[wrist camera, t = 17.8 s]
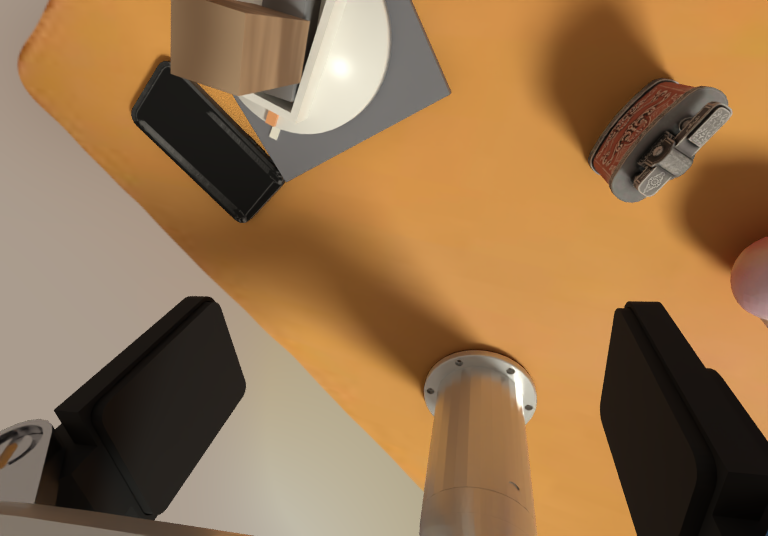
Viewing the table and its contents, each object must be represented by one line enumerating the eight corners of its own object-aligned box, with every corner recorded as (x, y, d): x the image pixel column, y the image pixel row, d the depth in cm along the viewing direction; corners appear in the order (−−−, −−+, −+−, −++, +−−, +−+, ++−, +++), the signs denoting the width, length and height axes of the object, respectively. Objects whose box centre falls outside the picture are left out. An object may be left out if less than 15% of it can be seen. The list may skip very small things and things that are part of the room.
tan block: (328, -1, 31) (248, -23, 20) (311, 99, 34) (236, 123, 24) (276, -17, 31) (171, -47, 20) (265, 84, 34) (170, 101, 24)
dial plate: (451, 92, 35) (450, 94, 34) (292, 177, 42) (285, 182, 40) (343, -157, 29) (335, -168, 28) (177, -12, 36) (164, -15, 34)
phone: (242, 227, 45) (127, 116, 41) (247, 223, 46) (135, 115, 42) (287, 178, 41) (164, 54, 38) (291, 175, 42) (172, 53, 39)
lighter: (610, 181, 36) (651, 225, 27) (578, 160, 36) (608, 198, 27) (690, 93, 32) (767, 112, 23) (654, 68, 32) (718, 78, 23)
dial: (249, -109, 30) (214, -131, 26) (423, -15, 31) (414, -23, 27) (209, 84, 37) (177, 88, 33) (351, 157, 38) (336, 171, 34)
